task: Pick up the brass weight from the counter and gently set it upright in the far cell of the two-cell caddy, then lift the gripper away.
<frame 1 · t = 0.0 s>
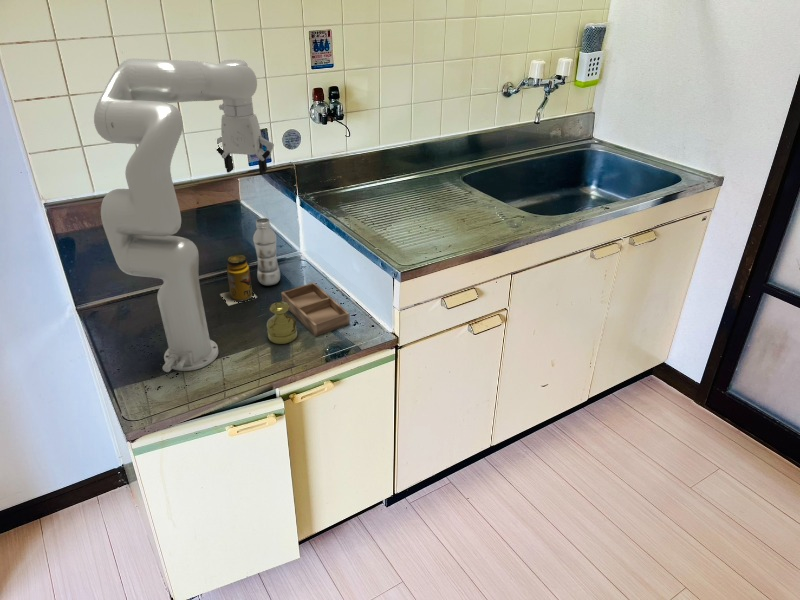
hand: (246, 172, 168), 31 cm above the countertop, tool pointing down, fingers open, 9 cm apart
caddy: (315, 313, 164), on the countertop
condiment: (238, 297, 171), on the countertop
brass weight: (283, 337, 154), on the countertop
plastic bottle: (269, 283, 178), on the countertop
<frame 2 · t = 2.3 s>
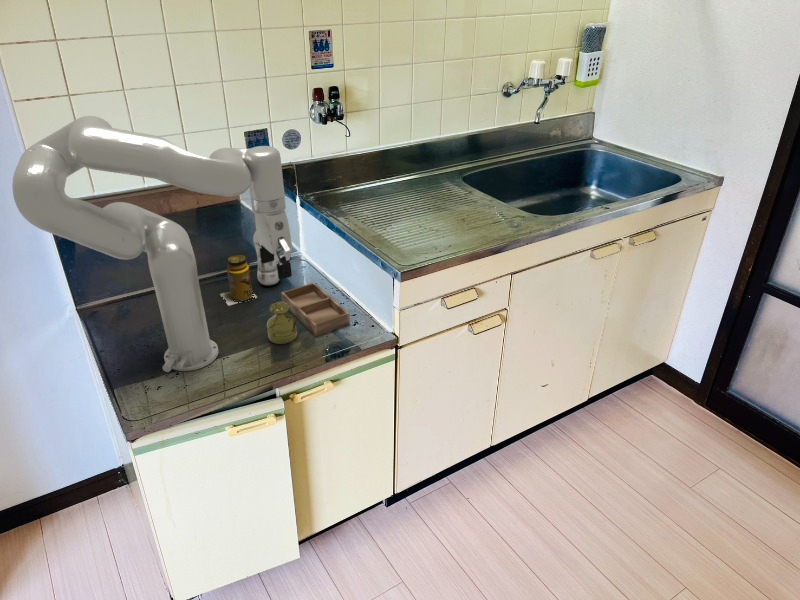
hand: (276, 269, 144), 19 cm above the countertop, tool pointing down, fingers open, 9 cm apart
nothing on the countertop moved.
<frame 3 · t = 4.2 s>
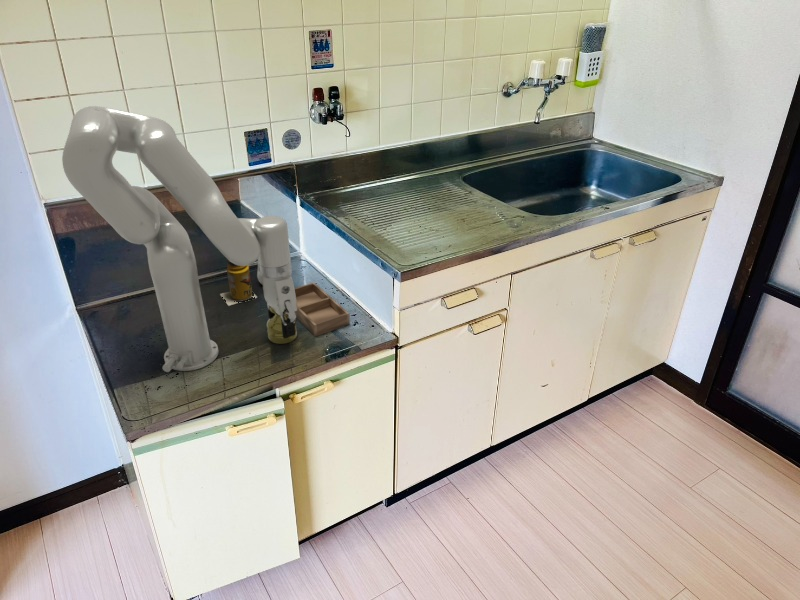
hand: (282, 328, 153), 2 cm above the countertop, tool pointing down, fingers closed on brass weight, 7 cm apart
brass weight: (282, 337, 154), on the countertop, touching gripper
everything else where it was.
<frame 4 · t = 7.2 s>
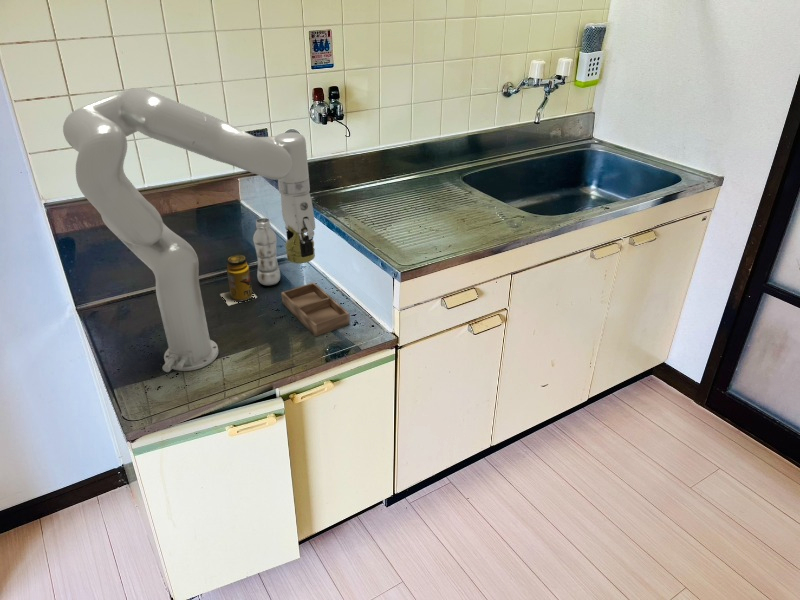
hand: (300, 249, 156), 18 cm above the countertop, tool pointing down, fingers closed on brass weight, 7 cm apart
brass weight: (301, 258, 158), point 16 cm above the countertop, touching gripper
everything else where it was.
when the fingers open (5 cm above the countertop, at t = 10.4 s): brass weight drops 1 cm, resting on caddy.
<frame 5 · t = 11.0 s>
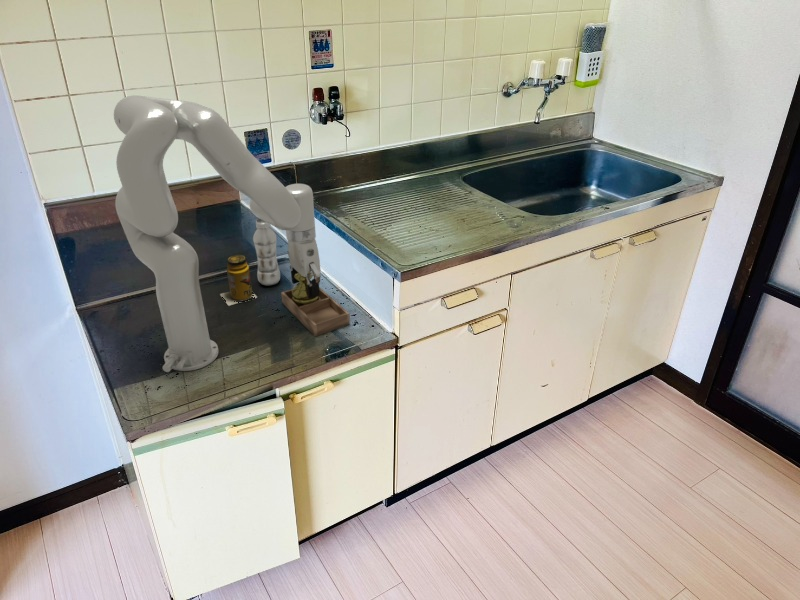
hand: (305, 289, 164), 5 cm above the countertop, tool pointing down, fingers open, 9 cm apart
brass weight: (306, 303, 166), point 1 cm above the countertop, touching caddy
everything else where it was.
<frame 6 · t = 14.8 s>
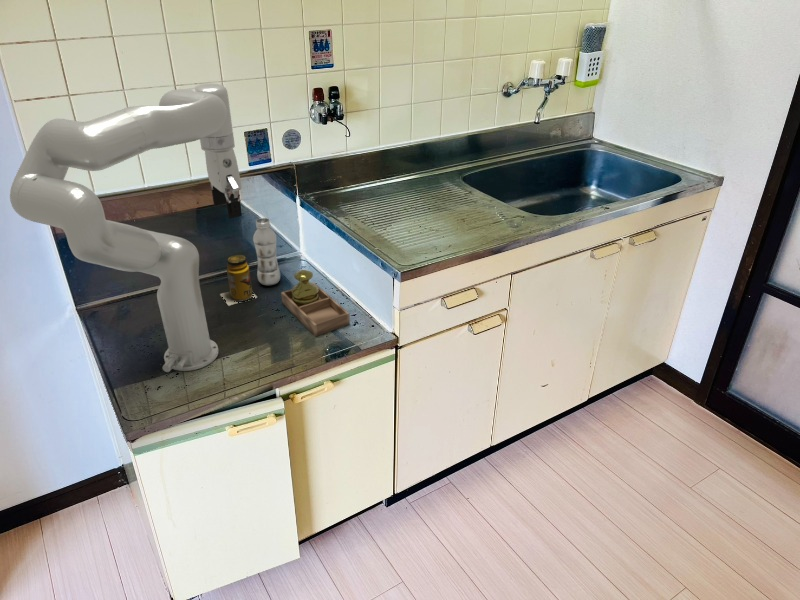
hand: (227, 210, 147), 30 cm above the countertop, tool pointing down, fingers open, 9 cm apart
nothing on the countertop moved.
at the end: brass weight 0.2 cm from the target spot on the caddy, point 0.8 cm above the caddy's base; brass weight tilted 0°; the gripper is holding nothing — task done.
